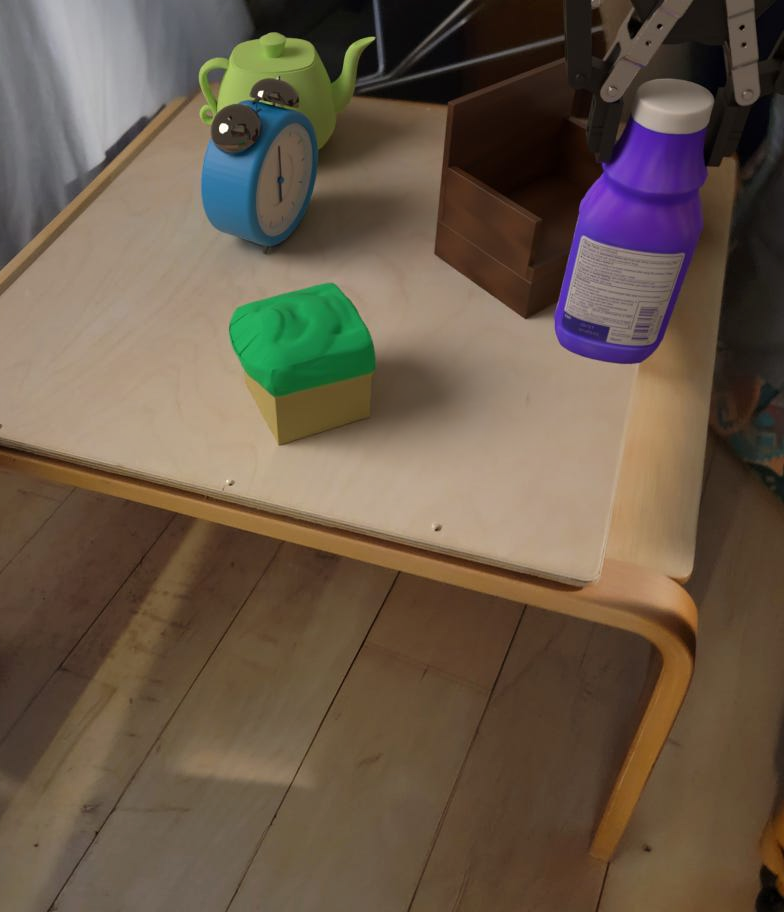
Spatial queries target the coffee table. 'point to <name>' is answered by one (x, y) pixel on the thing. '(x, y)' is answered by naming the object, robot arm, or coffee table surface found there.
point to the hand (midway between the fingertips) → (655, 156)
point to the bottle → (637, 228)
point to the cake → (305, 360)
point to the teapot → (285, 78)
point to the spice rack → (514, 186)
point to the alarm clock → (260, 166)
